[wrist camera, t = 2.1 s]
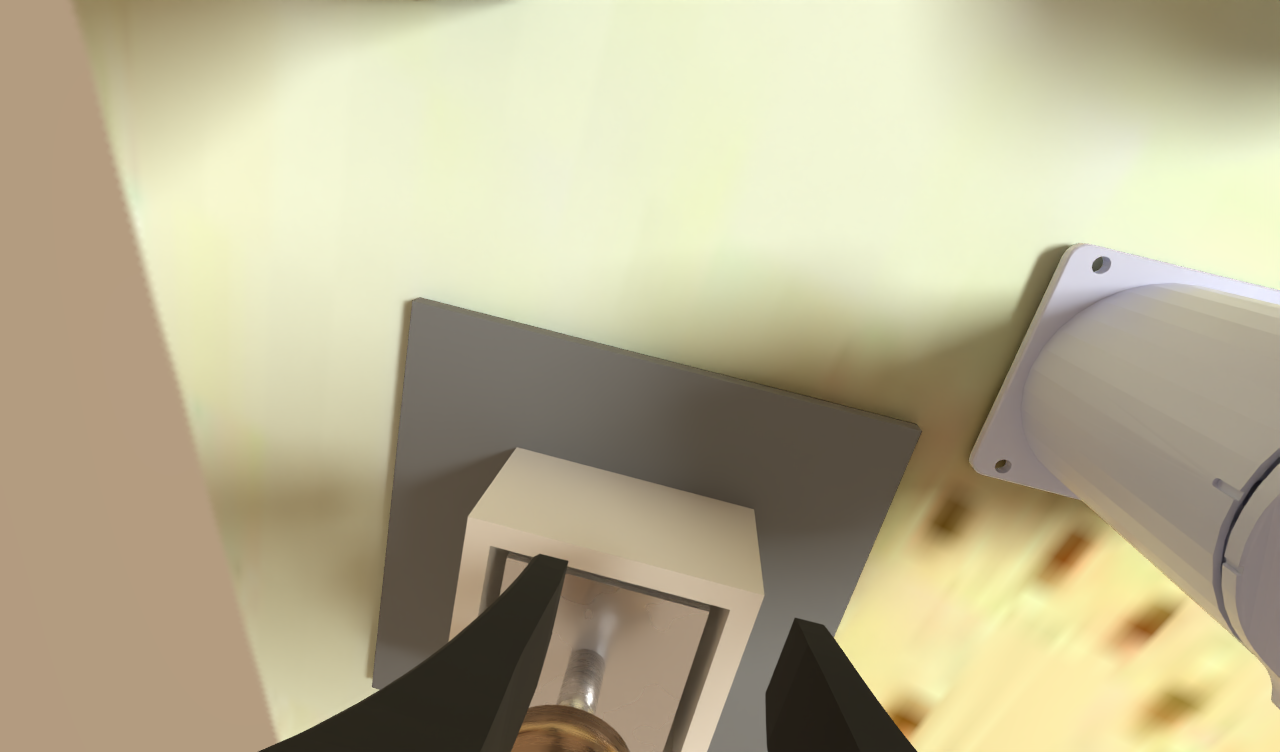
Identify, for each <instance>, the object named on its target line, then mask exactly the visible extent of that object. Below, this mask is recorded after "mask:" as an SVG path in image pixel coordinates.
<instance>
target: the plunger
mask: <svg viewBox="0 0 1280 752" xmlns="http://www.w3.org/2000/svg"><path fill="white" fill-rule="evenodd" d="M532 558H533V557H531V556H527V555H523V554H520V553H516V552H512V551H510V552H509V554H508V556H507V559H506V564H505V570H504V575H503V581H502V586H501V591H500V595H501V594H502V593H503V592H504V591H505V590H506V589H507V588H508V587H509V586H510V585H511V584H512V583H513V581H514V580H515V579H516V578H517V577H518V576H519V575H520V574H521V572H522V571H523V570H524V569H525V568H526V566H527V565H528V564H529V562H530V561H531V560H532ZM709 612H710V604H706V603H703V602H699V601H695V600H691V599H688V598H684V597H680V596H676V595H673V594H669V593H665V592H661V591H658V590H654V589H650V588H647V587H643V586H639V585H635V584H632V583H628V582H624V581H620V580H617V579H613V578H609V577H605V576H602V575H598V574H594V573H591V572H587V571H583V570H579V569H576V568H572V567H568V566H567V570H566V574H565V579H564V583H563V588H562V592H561V596H560V601H559V605H558V609H557V614H556V618H555V623H554V627H553V631H552V636H551V640H550V643H549V647H548V650H547V654H546V657H545V661H544V664H543V668H542V671H541V674H540V678H539V681H538V685H537V688H536V690H535V693H534V696H533V698H532V701H531V703H530V706H529V708H528V711H527V713H526V716H525V718H524V721H523V723H522V726H521V728H520V731H519V733H518V736H517V738H516V740H515V743H514V745H513V748H512V750H511V752H663V750H664V747H665V744H666V741H667V738H668V735H669V732H670V729H671V726H672V723H673V720H674V717H675V714H676V711H677V708H678V705H679V702H680V699H681V696H682V693H683V690H684V687H685V684H686V681H687V678H688V675H689V672H690V669H691V666H692V663H693V660H694V657H695V654H696V651H697V648H698V645H699V642H700V639H701V636H702V633H703V630H704V627H705V624H706V621H707V618H708V615H709Z"/></svg>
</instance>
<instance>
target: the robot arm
mask: <svg viewBox="0 0 1280 752" xmlns="http://www.w3.org/2000/svg"><path fill="white" fill-rule="evenodd" d="M1099 257H1102V259H1103V265H1102V267H1101V268H1100V269H1099V270H1097V271H1095V272H1093V270H1092V263H1093V262H1094V261H1095V259H1097V258H1099ZM1000 460H1006V463H1005V465H1004V466H1003V467H1000V468H995V464H996V463H997V462H998V461H1000ZM969 462H970V465H971V466H972V467H973V468H974V470H975V471H976V472H977V473H979V474H981V475H985V476H989V477H993V478H996V479H1000V480H1004V481H1008V482H1012V483H1016V484H1020V485H1024V486H1028V487H1031V488H1035V489H1039V490H1043V491H1047V492H1051V493H1055V494H1059V495H1062V496H1066V497H1070V498H1074V499H1078V500H1082V501H1083V502H1084V503H1085V504H1086V505H1087V506H1089V507H1090V508H1091V509H1092V510H1093V511H1094V512H1095V513H1096V514H1097V515H1099V516H1100V517H1101V518H1102V519H1103V520H1104V521H1105V522H1106V523H1108V524H1109V525H1110V526H1111V527H1112V528H1113V529H1114V530H1115V531H1116V532H1118V533H1119V534H1120V535H1121V536H1122V537H1123V538H1124V539H1125V540H1126V541H1128V542H1129V543H1130V544H1131V545H1132V546H1133V547H1134V548H1135V549H1136V550H1138V551H1139V552H1140V553H1141V554H1142V555H1143V556H1144V557H1145V558H1147V559H1148V560H1149V561H1150V562H1151V563H1152V564H1153V565H1154V566H1155V567H1157V568H1158V569H1159V570H1160V571H1161V572H1162V573H1163V574H1164V575H1165V576H1167V577H1168V578H1169V579H1170V580H1171V581H1172V582H1173V583H1174V584H1175V585H1177V586H1178V587H1179V588H1180V589H1181V590H1182V591H1183V592H1184V593H1186V594H1187V595H1188V596H1189V597H1190V598H1191V599H1192V600H1193V601H1194V602H1196V603H1197V604H1198V605H1199V606H1200V607H1201V608H1202V609H1203V610H1204V611H1206V612H1207V613H1208V614H1209V615H1210V616H1211V617H1212V618H1213V619H1215V620H1216V621H1217V622H1218V623H1219V624H1220V625H1221V626H1222V627H1223V628H1225V629H1226V630H1227V631H1228V632H1229V633H1230V634H1231V635H1232V636H1233V637H1235V638H1236V639H1237V640H1238V641H1239V642H1240V643H1241V644H1242V645H1243V646H1245V647H1246V648H1247V649H1248V650H1249V651H1250V652H1251V653H1252V654H1254V655H1255V656H1256V657H1257V658H1258V660H1259V661H1260V662H1261V663H1262V664H1263V665H1264V666H1265V668H1266V669H1267V671H1268V673H1269V675H1270V678H1271V682H1272V698H1271V700H1272V702H1273V703H1274V704H1275V705H1276V706H1277V707H1278V708H1279V709H1280V290H1276V289H1272V288H1267V287H1263V286H1259V285H1255V284H1251V283H1247V282H1243V281H1239V280H1235V279H1231V278H1227V277H1222V276H1218V275H1214V274H1210V273H1206V272H1202V271H1198V270H1194V269H1190V268H1186V267H1182V266H1177V265H1173V264H1169V263H1165V262H1161V261H1157V260H1153V259H1149V258H1145V257H1141V256H1137V255H1132V254H1128V253H1124V252H1120V251H1116V250H1112V249H1108V248H1104V247H1100V246H1096V245H1091V244H1086V243H1078V244H1075V245H1072V246H1071V247H1070V248H1068V249H1067V250H1066V251H1065V253H1064V254H1063V255H1062V257H1061V260H1060V262H1059V264H1058V266H1057V268H1056V270H1055V273H1054V275H1053V277H1052V279H1051V281H1050V283H1049V285H1048V288H1047V290H1046V292H1045V294H1044V296H1043V298H1042V301H1041V303H1040V305H1039V307H1038V309H1037V311H1036V314H1035V316H1034V318H1033V320H1032V322H1031V324H1030V326H1029V329H1028V331H1027V333H1026V335H1025V337H1024V339H1023V342H1022V344H1021V346H1020V348H1019V350H1018V352H1017V354H1016V357H1015V359H1014V361H1013V363H1012V365H1011V367H1010V370H1009V372H1008V374H1007V376H1006V378H1005V380H1004V383H1003V385H1002V387H1001V389H1000V391H999V393H998V395H997V398H996V400H995V402H994V404H993V406H992V408H991V411H990V413H989V415H988V417H987V419H986V421H985V423H984V426H983V428H982V430H981V432H980V434H979V436H978V439H977V441H976V443H975V445H974V447H973V449H972V452H971V454H970V457H969ZM567 566H568V561H567V560H563V559H559V558H555V557H551V556H547V555H543V554H538V555H536V556H534V557H533V558H532V560H531V561H530V562H529V564H528V565H527V566H526V568H525V569H524V570H523V571H522V572H521V574H520V575H519V576H518V577H517V578H516V579H515V580H514V581H513V583H512V584H511V585H510V586H509V587H508V588H507V589H506V590H505V591H504V592H503V593H502V594H501V595H500V596H499V597H498V598H497V599H496V600H495V601H494V602H493V603H492V604H491V605H490V606H489V607H488V608H487V609H486V610H485V611H484V612H483V613H482V614H480V615H479V616H478V617H477V618H476V619H475V620H474V621H473V622H471V623H470V624H469V625H468V626H467V627H466V628H464V629H463V630H462V631H461V632H460V633H459V634H457V635H456V636H455V637H454V638H453V639H452V640H450V641H449V642H448V643H447V644H445V645H444V646H443V647H442V648H440V649H439V650H438V651H436V652H435V653H434V654H432V655H431V656H430V657H428V658H427V659H426V660H424V661H423V662H421V663H420V664H419V665H417V666H416V667H414V668H413V669H412V670H410V671H409V672H407V673H406V674H404V675H403V676H401V677H399V678H398V679H396V680H395V681H393V682H392V683H390V684H389V685H387V686H385V687H384V688H382V689H381V690H379V691H378V692H376V693H374V694H373V695H371V696H369V697H368V698H366V699H364V700H362V701H361V702H359V703H357V704H355V705H353V706H352V707H350V708H348V709H346V710H344V711H342V712H340V713H338V714H336V715H335V716H333V717H331V718H329V719H327V720H325V721H323V722H321V723H320V724H318V725H316V726H314V727H312V728H310V729H308V730H306V731H304V732H302V733H300V734H298V735H295V736H293V737H291V738H289V739H286V740H284V741H282V742H279V743H277V744H275V745H272V746H270V747H268V748H266V749H263V750H261V751H259V752H511V750H512V748H513V745H514V743H515V740H516V738H517V736H518V733H519V731H520V728H521V726H522V723H523V721H524V718H525V716H526V713H527V711H528V708H529V706H530V703H531V701H532V698H533V696H534V693H535V690H536V688H537V685H538V681H539V678H540V674H541V671H542V668H543V664H544V661H545V657H546V654H547V650H548V647H549V643H550V640H551V636H552V631H553V627H554V623H555V618H556V614H557V609H558V605H559V601H560V596H561V592H562V588H563V583H564V579H565V574H566V570H567ZM765 704H766V738H767V750H768V752H917V751H916V749H915V748H914V747H913V746H912V745H911V743H910V742H909V741H908V740H907V738H906V737H905V736H904V735H903V733H902V732H901V731H900V729H899V728H898V727H897V726H896V724H895V723H894V722H893V720H892V719H891V718H890V716H889V715H888V714H887V712H886V711H885V710H884V708H883V707H882V706H881V704H880V703H879V701H878V700H877V699H876V697H875V696H874V695H873V693H872V692H871V690H870V689H869V688H868V686H867V685H866V683H865V682H864V681H863V679H862V678H861V676H860V675H859V673H858V672H857V671H856V669H855V668H854V666H853V665H852V663H851V662H850V661H849V659H848V658H847V656H846V655H845V653H844V652H843V650H842V649H841V648H840V646H839V645H838V643H837V642H836V640H835V639H834V638H833V636H832V635H831V633H830V632H829V631H828V629H827V628H826V627H825V625H823V624H819V623H815V622H811V621H807V620H803V619H799V618H794V621H793V624H792V626H791V629H790V631H789V634H788V636H787V639H786V641H785V644H784V647H783V649H782V652H781V654H780V657H779V659H778V662H777V665H776V667H775V670H774V672H773V675H772V677H771V680H770V683H769V685H768V688H767V690H766V693H765Z"/></svg>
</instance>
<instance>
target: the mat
mask: <svg viewBox="0 0 1280 752" xmlns="http://www.w3.org/2000/svg"><path fill="white" fill-rule="evenodd" d="M921 432H922V431H921V429H920V428H919V427H918V426H917V424H913V423H909V422H905V421H902V420H898V419H894V418H890V417H886V416H882V415H878V414H874V413H870V412H866V411H862V410H859V409H855V408H851V407H847V406H843V405H839V404H835V403H831V402H827V401H823V400H819V399H815V398H812V397H808V396H804V395H800V394H796V393H792V392H788V391H784V390H780V389H776V388H772V387H769V386H765V385H761V384H757V383H753V382H749V381H745V380H741V379H737V378H733V377H729V376H726V375H722V374H718V373H714V372H710V371H706V370H702V369H698V368H694V367H690V366H686V365H683V364H679V363H675V362H671V361H667V360H663V359H659V358H655V357H651V356H647V355H643V354H640V353H636V352H632V351H628V350H624V349H620V348H616V347H612V346H608V345H604V344H600V343H596V342H593V341H589V340H585V339H581V338H577V337H573V336H569V335H565V334H561V333H557V332H553V331H550V330H546V329H542V328H538V327H534V326H530V325H526V324H522V323H518V322H514V321H510V320H507V319H503V318H499V317H495V316H491V315H487V314H483V313H479V312H475V311H471V310H467V309H464V308H460V307H456V306H452V305H448V304H444V303H440V302H436V301H432V300H428V299H424V298H421V297H420V298H418V299H415V300H413V301H412V310H411V319H410V329H409V338H408V348H407V357H406V367H405V376H404V386H403V395H402V405H401V415H400V424H399V434H398V443H397V453H396V462H395V472H394V481H393V491H392V500H391V510H390V520H389V529H388V539H387V548H386V558H385V567H384V577H383V586H382V596H381V605H380V615H379V625H378V634H377V644H376V653H375V663H374V672H373V682H372V687H373V688H376V689H380V690H381V689H382V688H384V687H385V686H387V685H389V684H390V683H392V682H393V681H395V680H396V679H398V678H399V677H401V676H403V675H404V674H406V673H407V672H409V671H410V670H412V669H413V668H414V667H416V666H417V665H419V664H420V663H421V662H423V661H424V660H426V659H427V658H428V657H430V656H431V655H432V654H434V653H435V652H436V651H438V650H439V649H440V648H442V647H443V646H444V645H445V644H447V643H448V641H449V635H450V629H451V622H452V616H453V609H454V603H455V597H456V590H457V584H458V577H459V571H460V564H461V558H462V552H463V545H464V539H465V532H466V526H467V519H468V516H469V514H470V513H471V511H472V510H473V509H474V507H475V506H476V504H477V503H478V501H479V500H480V499H481V497H482V496H483V494H484V493H485V492H486V490H487V489H488V487H489V486H490V484H491V483H492V482H493V480H494V479H495V477H496V476H497V474H498V473H499V472H500V470H501V469H502V467H503V466H504V465H505V463H506V462H507V460H508V459H509V457H510V456H511V455H512V453H513V452H514V450H515V449H516V448H517V447H518V448H522V449H526V450H530V451H533V452H537V453H541V454H545V455H549V456H552V457H556V458H560V459H564V460H568V461H571V462H575V463H579V464H583V465H587V466H591V467H594V468H598V469H602V470H606V471H610V472H613V473H617V474H621V475H625V476H629V477H632V478H636V479H640V480H644V481H648V482H652V483H655V484H659V485H663V486H667V487H671V488H674V489H678V490H682V491H686V492H690V493H694V494H697V495H701V496H705V497H709V498H713V499H716V500H720V501H724V502H728V503H732V504H735V505H739V506H743V507H747V508H751V509H754V513H755V521H756V529H757V538H758V546H759V554H760V562H761V570H762V579H763V587H764V595H765V596H764V598H763V601H762V604H761V606H760V609H759V612H758V615H757V617H756V620H755V623H754V626H753V628H752V631H751V634H750V636H749V639H748V642H747V645H746V647H745V650H744V653H743V655H742V658H741V661H740V664H739V666H738V669H737V672H736V674H735V677H734V680H733V683H732V685H731V688H730V691H729V694H728V696H727V699H726V702H725V704H724V707H723V710H722V713H721V715H720V718H719V721H718V723H717V726H716V729H715V732H714V734H713V737H712V740H711V742H710V745H709V748H708V751H707V752H768V750H767V738H766V704H765V693H766V690H767V688H768V685H769V683H770V680H771V677H772V675H773V672H774V670H775V667H776V665H777V662H778V659H779V657H780V654H781V652H782V649H783V647H784V644H785V641H786V639H787V636H788V634H789V631H790V629H791V626H792V624H793V621H794V618H799V619H803V620H807V621H811V622H815V623H819V624H823V625H825V627H826V628H827V629H828V631H829V632H830V633H831V635H832V636H833V638H834V636H835V633H836V631H837V629H838V626H839V624H840V622H841V619H842V617H843V615H844V612H845V610H846V608H847V605H848V603H849V601H850V598H851V596H852V594H853V591H854V589H855V587H856V584H857V582H858V580H859V577H860V575H861V573H862V570H863V568H864V566H865V563H866V561H867V558H868V556H869V554H870V551H871V549H872V547H873V544H874V542H875V540H876V537H877V535H878V533H879V530H880V528H881V526H882V523H883V521H884V519H885V516H886V514H887V512H888V509H889V507H890V505H891V502H892V500H893V498H894V495H895V493H896V491H897V488H898V486H899V484H900V481H901V479H902V477H903V474H904V472H905V470H906V467H907V465H908V463H909V460H910V458H911V456H912V453H913V451H914V449H915V446H916V444H917V442H918V439H919V437H920V434H921Z"/></svg>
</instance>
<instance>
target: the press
mask: <svg viewBox="0 0 1280 752" xmlns="http://www.w3.org/2000/svg"><path fill="white" fill-rule="evenodd" d="M510 551H512V552H516V553H520V554H523V555H527V556H531V557H534V556H536V555H538V554H543V555H547V556H551V557H555V558H559V559H563V560H567V561H568V567H572V568H576V569H579V570H583V571H587V572H591V573H594V574H598V575H602V576H605V577H609V578H613V579H617V580H620V581H624V582H628V583H632V584H635V585H639V586H643V587H647V588H650V589H654V590H658V591H661V592H665V593H669V594H673V595H676V596H680V597H684V598H688V599H691V600H695V601H699V602H703V603H706V604H710V612H709V615H708V618H707V621H706V624H705V627H704V630H703V633H702V636H701V639H700V642H699V645H698V648H697V651H696V654H695V657H694V660H693V663H692V666H691V669H690V672H689V675H688V678H687V681H686V684H685V687H684V690H683V693H682V696H681V699H680V702H679V705H678V708H677V711H676V714H675V717H674V720H673V723H672V726H671V729H670V732H669V735H668V738H667V741H666V744H665V747H664V750H663V752H707V751H708V748H709V745H710V742H711V740H712V737H713V734H714V732H715V729H716V726H717V723H718V721H719V718H720V715H721V713H722V710H723V707H724V704H725V702H726V699H727V696H728V694H729V691H730V688H731V685H732V683H733V680H734V677H735V674H736V672H737V669H738V666H739V664H740V661H741V658H742V655H743V653H744V650H745V647H746V645H747V642H748V639H749V636H750V634H751V631H752V628H753V626H754V623H755V620H756V617H757V615H758V612H759V609H760V606H761V604H762V601H763V598H764V596H765V595H764V587H763V579H762V570H761V562H760V554H759V546H758V538H757V529H756V521H755V513H754V509H751V508H747V507H743V506H739V505H735V504H732V503H728V502H724V501H720V500H716V499H713V498H709V497H705V496H701V495H697V494H694V493H690V492H686V491H682V490H678V489H674V488H671V487H667V486H663V485H659V484H655V483H652V482H648V481H644V480H640V479H636V478H632V477H629V476H625V475H621V474H617V473H613V472H610V471H606V470H602V469H598V468H594V467H591V466H587V465H583V464H579V463H575V462H571V461H568V460H564V459H560V458H556V457H552V456H549V455H545V454H541V453H537V452H533V451H530V450H526V449H522V448H518V447H517V448H516V449H515V450H514V452H513V453H512V455H511V456H510V457H509V459H508V460H507V462H506V463H505V465H504V466H503V467H502V469H501V470H500V472H499V473H498V474H497V476H496V477H495V479H494V480H493V482H492V483H491V484H490V486H489V487H488V489H487V490H486V492H485V493H484V494H483V496H482V497H481V499H480V500H479V501H478V503H477V504H476V506H475V507H474V509H473V510H472V511H471V513H470V514H469V516H468V519H467V526H466V532H465V539H464V545H463V552H462V558H461V564H460V571H459V577H458V584H457V590H456V597H455V603H454V609H453V616H452V622H451V629H450V635H449V641H450V640H452V639H453V638H454V637H455V636H456V635H457V634H459V633H460V632H461V631H462V630H463V629H464V628H466V627H467V626H468V625H469V624H470V623H471V622H473V621H474V620H475V619H476V618H477V617H478V616H479V615H480V614H482V613H483V612H484V611H485V610H486V609H487V608H488V607H489V606H490V605H491V604H492V603H493V602H494V601H495V600H496V599H497V598H498V597H499V596H500V591H501V586H502V581H503V575H504V570H505V564H506V559H507V556H508V554H509V552H510ZM449 641H448V642H449Z"/></svg>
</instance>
